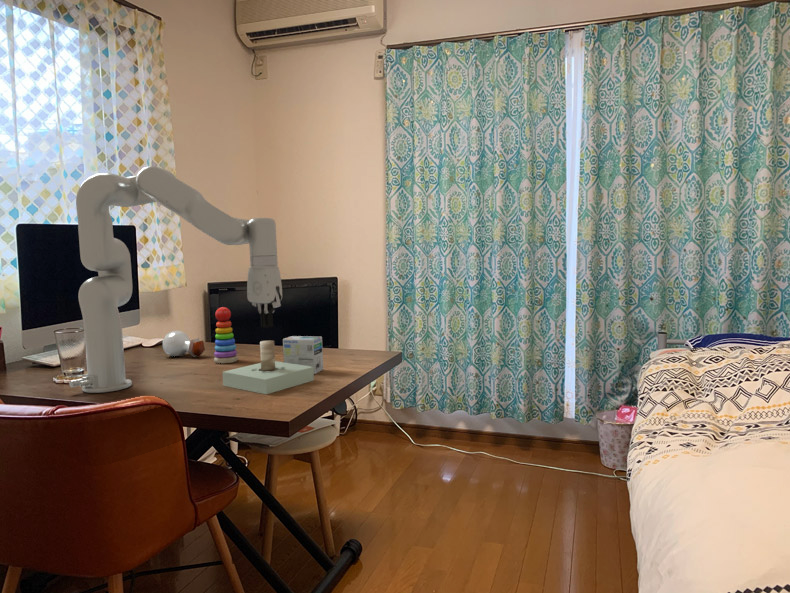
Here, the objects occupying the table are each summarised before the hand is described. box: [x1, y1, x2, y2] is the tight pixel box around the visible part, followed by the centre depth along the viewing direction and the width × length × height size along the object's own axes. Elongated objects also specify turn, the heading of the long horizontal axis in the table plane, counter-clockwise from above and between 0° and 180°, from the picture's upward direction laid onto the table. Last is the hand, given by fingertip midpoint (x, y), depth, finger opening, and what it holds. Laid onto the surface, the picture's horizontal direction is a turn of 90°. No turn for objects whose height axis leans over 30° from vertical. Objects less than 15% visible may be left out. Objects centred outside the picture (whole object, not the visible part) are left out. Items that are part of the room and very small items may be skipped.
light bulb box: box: [282, 335, 324, 375], centre depth 179 cm, size 11×7×11 cm, turn 74°
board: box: [222, 360, 315, 395], centre depth 165 cm, size 18×18×4 cm
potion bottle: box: [162, 330, 206, 358], centre depth 208 cm, size 9×10×15 cm
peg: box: [259, 339, 276, 372], centre depth 165 cm, size 4×4×12 cm
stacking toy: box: [213, 306, 239, 365], centre depth 196 cm, size 8×8×19 cm
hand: (267, 326), depth 164 cm, fingers closed
